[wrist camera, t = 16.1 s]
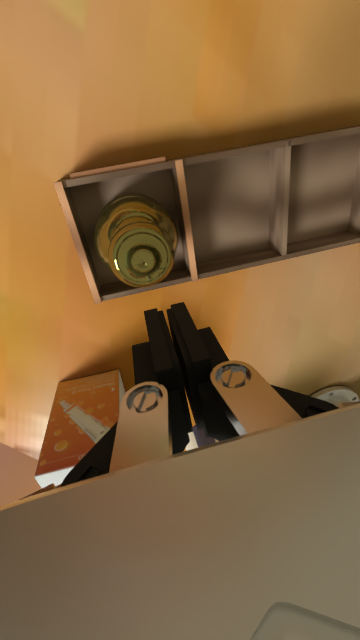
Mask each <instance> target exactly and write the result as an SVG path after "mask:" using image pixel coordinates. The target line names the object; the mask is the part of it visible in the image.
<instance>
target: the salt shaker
mask: <svg viewBox="0 0 360 640" xmlns="http://www.w3.org/2000/svg"><path fill="white" fill-rule="evenodd" d="M94 245H95V249H96V252H97V254H98V257H99V258H100V260H101V262H102V263H103V264H104V265H105V267H106V268H107V269H109V270H110V271H111V272H112V273H114V274H115V275H116V276H117V278H119V279H120V280H121V281H122V282H124V283H126V284H128V285H130V286H134V287H149V286H153V285H155V284H157V283H159V282H161V281H162V280H163V279H164V278H165V277H166V276H167V275H168V274H169V272H170V271H171V269H172V267H173V264H174V258H175V254H176V251H177V246H178V232H177V227H176V224H175V222H174V220H173V218H172V216H171V215H170V213H169V212H168V211H167V210H166V209H165V208H164V207H163V206H162V205H161V204H160V203H159V202H157V201H156V200H154V199H153V198H151V197H149V196H146V195H144V194H140V193H125V194H121V195H118V196H116V197H114V198H113V199H111V200H110V201H109V202H108V203H107V204H106V205H105V206H104V207H103V209H102V210H101V212H100V214H99V216H98V218H97V221H96V226H95V230H94Z"/></svg>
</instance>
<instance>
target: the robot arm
mask: <svg viewBox="0 0 360 640" xmlns="http://www.w3.org/2000/svg"><path fill="white" fill-rule="evenodd" d="M144 315H145V320H146V325H147V331H148V336H149V342H145V343H141V344H137V345H133V346H132V353H133V365H134V376H135V386H133V387H132V388H131V389H129V390H128V391H127V392H126V393H125V395H124V396H123V399H122V401H121V407H120V413H119V418H118V421H117V422H116V423H115V424H114V425H113V426H112V427H111V429H110V430H109V431H108V432H107V433H106V434H105V435H104V436H103V437H102V438H101V439H100V440H99V441H98V442H97V443H96V444H95V445H94V446H93V447H92V449H91V450H90V451H89V452H88V453H87V454H86V455H85V456H84V457H83V458H82V459H81V460H80V461H79V462H78V463H77V464H76V465H75V466H74V467H73V469H72V470H71V471H70V472H69V473H68V474H67V476H66V477H65V478H64V480H63V482H62V483H61V484H59V485H57V486H55V485H54V483H52V484H50V485H48V486H46V487H44V488H42V489H40V490H38V491H36V492H34V493H32V494H30V495H28V496H26V497H24V498H22V499H20V500H18V501H15V502H12V503H9V504H6V505H4V506H0V640H360V401H359V397H358V395H357V394H356V393H355V392H354V391H353V390H351V389H350V388H348V387H345V386H334V387H329V388H325V389H323V390H320V391H318V392H316V393H315V394H313V395H311V396H307V395H304V394H301V393H297V392H294V391H290V390H287V389H284V388H280V387H277V386H273V385H270V384H269V383H268V382H267V381H266V380H265V379H264V378H263V377H262V376H261V375H260V374H259V373H258V372H257V371H256V370H255V369H254V368H253V367H252V366H250V365H249V364H247V363H245V362H242V361H229V359H228V358H227V356H226V354H225V352H224V351H223V349H222V347H221V346H220V344H219V342H218V340H217V339H216V337H215V335H214V333H213V332H212V330H211V328H210V327H207V328H203V329H199V330H197V328H196V326H195V324H194V322H193V320H192V318H191V316H190V314H189V312H188V310H187V308H186V306H185V304H184V302H182V303H178V304H173V305H171V309H167V315H168V320H169V325H170V330H171V335H172V339H171V336H170V332H169V329H168V326H167V323H166V320H165V317H164V314H163V311H157V308H156V309H152V310H147V311H144ZM172 340H173V342H172ZM184 387H185V388H184ZM185 391H186V393H185ZM186 394H187V397H188V400H189V404H190V407H191V410H192V414H193V417H194V420H195V423H196V427H197V430H201V429H203V430H204V433H205V436H206V438H208V437H212V438H214V439H216V440H218V441H219V442H216V443H212V444H209V445H205V446H202V447H198V448H195V449H191V450H188V451H184V449H185V448H186V446H187V445H188V443H189V442H190V439H189V435H188V433H190V432H193V428H192V423H191V418H190V413H189V408H188V403H187V398H186ZM183 451H184V452H183Z"/></svg>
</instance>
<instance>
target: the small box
mask: <svg viewBox="0 0 360 640" xmlns="http://www.w3.org/2000/svg"><path fill="white" fill-rule="evenodd" d="M125 393H126V392H125V389H124V385H123V382H122V378H121V375H120V372H119V370H118V369H117V370H113V371H110V372H105V373H101V374H97V375H92V376H88V377H83V378H79V379H74V380H69V381H65V382H60V383H58V386H57V390H56V394H55V397H54V401H53V405H52V409H51V413H50V417H49V421H48V425H47V429H46V433H45V437H44V441H43V445H42V448H41V452H40V456H39V460H38V464H37V468H36V472H35V479H36V480H37V482H38V483H39V485H40V486H41V488H44V487H46V486H48V485H50V484H52V483H54V485H55V486H57V485H59V484H61V483H62V482H63V480H64V478H65V477H66V476H67V474H68V473H69V472H70V471H71V470H72V469H73V467H74V466H75V465H76V464H77V463H78V462H79V461H80V460H81V459H82V458H83V457H84V456H85V455H86V454H87V453H88V452H89V451H90V450H91V449H92V447H93V446H94V445H95V444H96V443H97V442H98V441H99V440H100V439H101V438H102V437H103V436H104V435H105V434H106V433H107V432H108V431H109V430H110V429H111V427H112V426H113V425H114V424H115V423H116V422H117V421H118V418H119V413H120V407H121V401H122V399H123V396H124V395H125Z"/></svg>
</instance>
